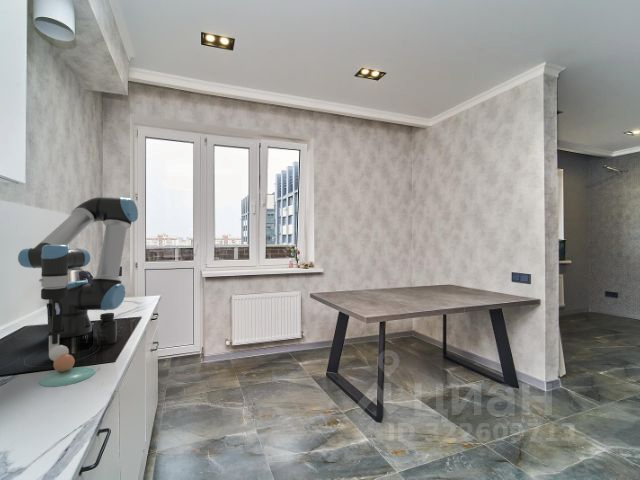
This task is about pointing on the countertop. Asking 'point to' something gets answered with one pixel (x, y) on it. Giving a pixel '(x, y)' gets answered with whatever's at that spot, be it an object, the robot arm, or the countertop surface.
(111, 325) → the supplement bottle
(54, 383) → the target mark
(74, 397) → the countertop surface
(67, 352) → the cue ball
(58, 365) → the object ball
